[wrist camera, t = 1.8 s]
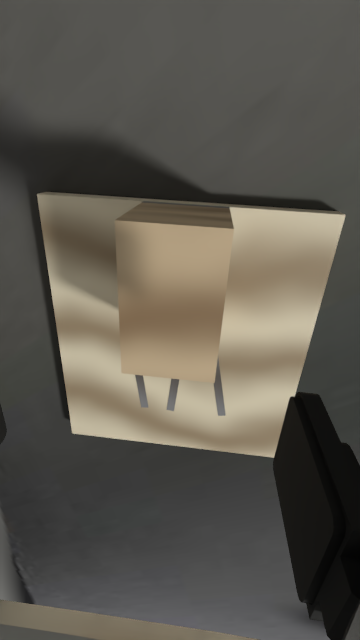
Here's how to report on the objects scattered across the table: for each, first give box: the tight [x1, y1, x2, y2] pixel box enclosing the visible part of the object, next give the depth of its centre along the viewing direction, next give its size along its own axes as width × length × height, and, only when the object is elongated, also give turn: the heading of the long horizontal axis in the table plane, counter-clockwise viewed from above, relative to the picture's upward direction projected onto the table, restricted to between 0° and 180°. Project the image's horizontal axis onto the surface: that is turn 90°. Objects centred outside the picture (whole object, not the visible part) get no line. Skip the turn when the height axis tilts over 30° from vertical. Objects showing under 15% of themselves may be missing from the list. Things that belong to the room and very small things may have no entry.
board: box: [37, 192, 345, 457], centre depth 24 cm, size 20×18×1 cm
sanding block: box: [115, 201, 234, 383], centre depth 18 cm, size 8×5×6 cm, turn 177°
